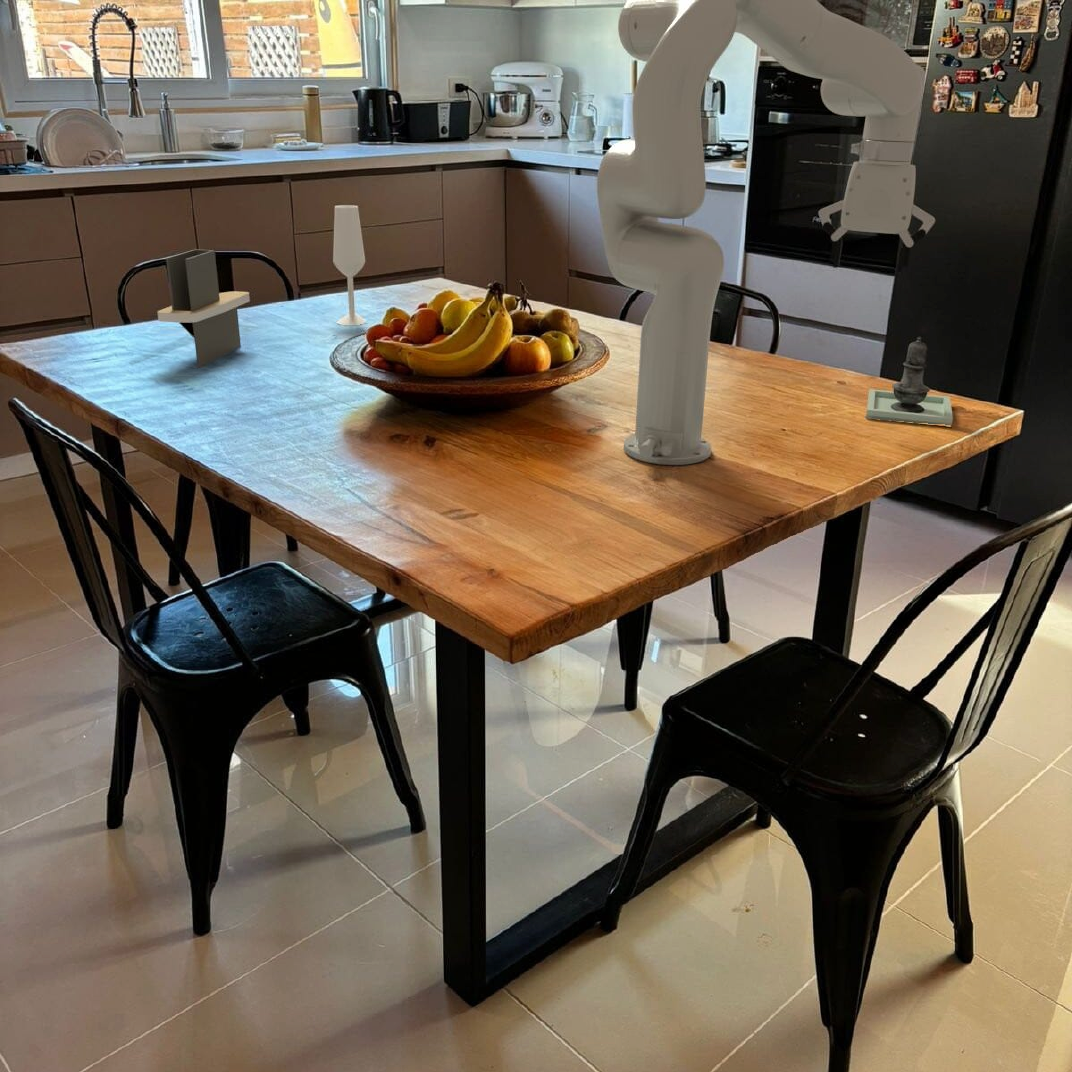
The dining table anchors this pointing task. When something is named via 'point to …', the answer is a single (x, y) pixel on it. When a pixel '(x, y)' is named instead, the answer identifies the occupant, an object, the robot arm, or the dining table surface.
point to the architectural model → (203, 305)
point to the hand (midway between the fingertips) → (867, 269)
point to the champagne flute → (348, 253)
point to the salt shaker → (912, 380)
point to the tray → (934, 412)
